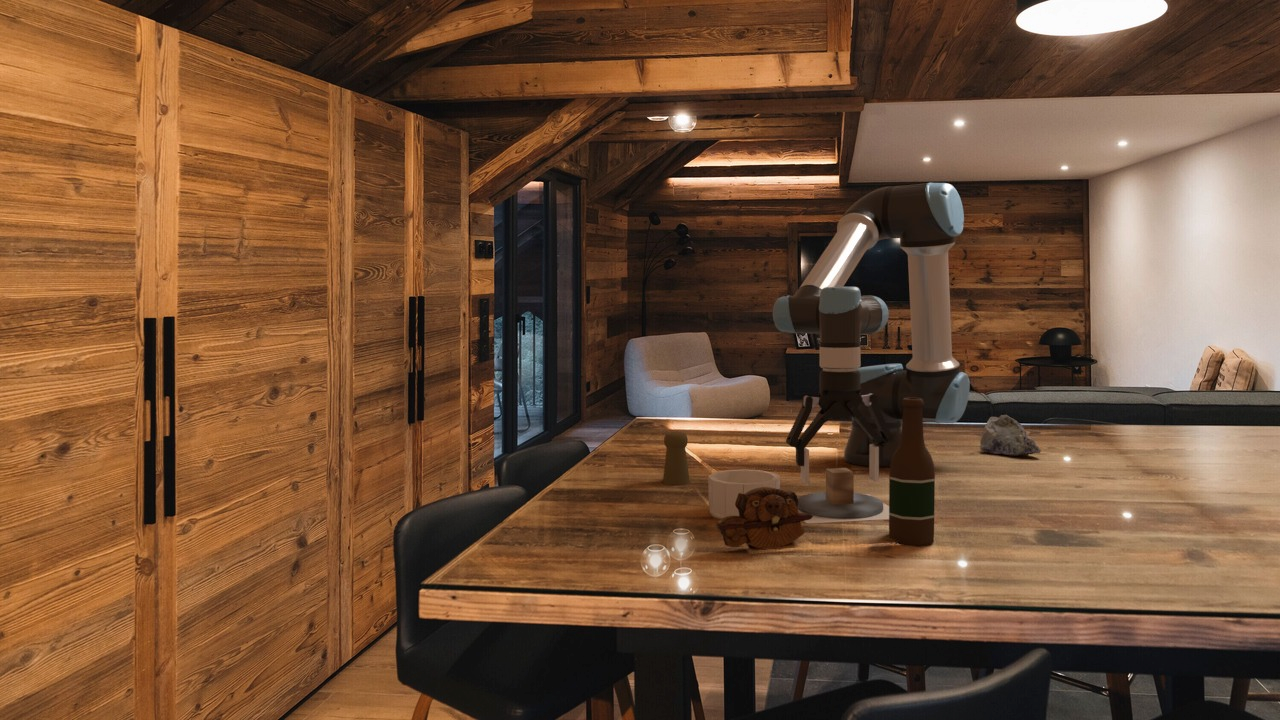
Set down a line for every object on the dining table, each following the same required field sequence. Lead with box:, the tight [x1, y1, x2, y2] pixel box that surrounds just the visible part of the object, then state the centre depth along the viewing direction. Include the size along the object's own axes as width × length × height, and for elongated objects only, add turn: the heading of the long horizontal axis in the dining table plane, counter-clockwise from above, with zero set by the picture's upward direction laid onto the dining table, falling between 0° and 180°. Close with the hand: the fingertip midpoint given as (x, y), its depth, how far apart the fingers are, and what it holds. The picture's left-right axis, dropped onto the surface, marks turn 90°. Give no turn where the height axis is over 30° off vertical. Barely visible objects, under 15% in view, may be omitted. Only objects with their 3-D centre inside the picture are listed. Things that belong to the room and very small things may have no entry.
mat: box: [798, 493, 889, 525], centre depth 175 cm, size 19×19×1 cm
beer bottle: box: [888, 397, 936, 547], centre depth 154 cm, size 8×8×24 cm
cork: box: [662, 431, 691, 486], centre depth 201 cm, size 6×6×11 cm
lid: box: [797, 467, 884, 519], centre depth 174 cm, size 16×16×7 cm
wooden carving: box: [716, 487, 813, 549], centre depth 151 cm, size 16×5×10 cm, turn 110°
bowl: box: [707, 468, 781, 521], centre depth 174 cm, size 13×13×7 cm
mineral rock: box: [979, 414, 1042, 457], centre depth 225 cm, size 13×11×10 cm
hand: (839, 481), depth 174 cm, fingers open, 13 cm apart
